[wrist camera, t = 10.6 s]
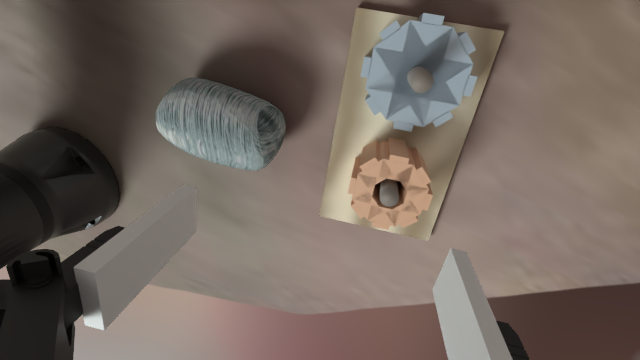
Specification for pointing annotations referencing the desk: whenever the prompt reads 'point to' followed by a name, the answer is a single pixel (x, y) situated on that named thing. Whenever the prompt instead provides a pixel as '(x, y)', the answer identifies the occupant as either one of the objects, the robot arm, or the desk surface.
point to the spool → (221, 124)
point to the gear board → (364, 127)
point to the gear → (425, 51)
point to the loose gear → (395, 165)
